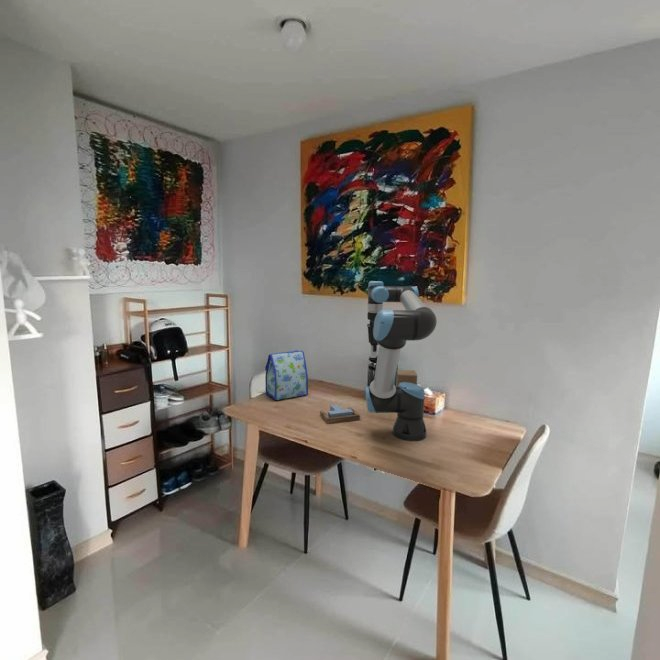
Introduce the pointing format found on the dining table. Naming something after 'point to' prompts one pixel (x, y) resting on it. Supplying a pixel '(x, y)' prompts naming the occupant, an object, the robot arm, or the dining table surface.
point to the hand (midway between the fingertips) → (373, 357)
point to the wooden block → (406, 377)
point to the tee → (338, 411)
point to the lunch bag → (286, 375)
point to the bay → (340, 417)
